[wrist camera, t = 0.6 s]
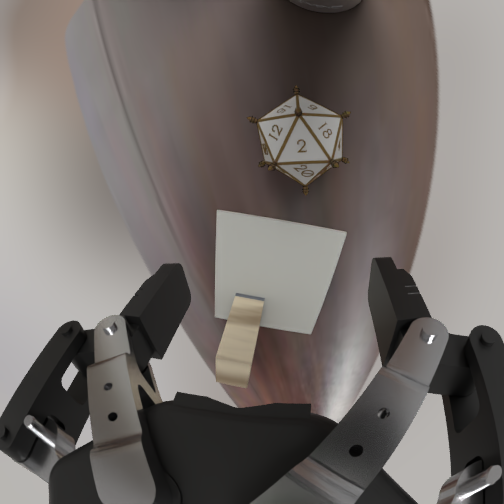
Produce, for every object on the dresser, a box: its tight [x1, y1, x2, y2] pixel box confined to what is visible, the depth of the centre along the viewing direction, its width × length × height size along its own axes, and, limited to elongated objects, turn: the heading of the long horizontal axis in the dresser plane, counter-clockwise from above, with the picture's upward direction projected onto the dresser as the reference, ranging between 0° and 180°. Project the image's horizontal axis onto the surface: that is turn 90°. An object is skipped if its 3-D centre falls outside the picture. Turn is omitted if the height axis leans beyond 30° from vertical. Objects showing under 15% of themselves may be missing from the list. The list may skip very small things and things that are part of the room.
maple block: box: [216, 293, 265, 388], centre depth 34 cm, size 6×4×11 cm, turn 174°
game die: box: [247, 85, 351, 195], centre depth 21 cm, size 9×8×10 cm
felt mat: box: [215, 210, 347, 334], centre depth 35 cm, size 18×15×1 cm
